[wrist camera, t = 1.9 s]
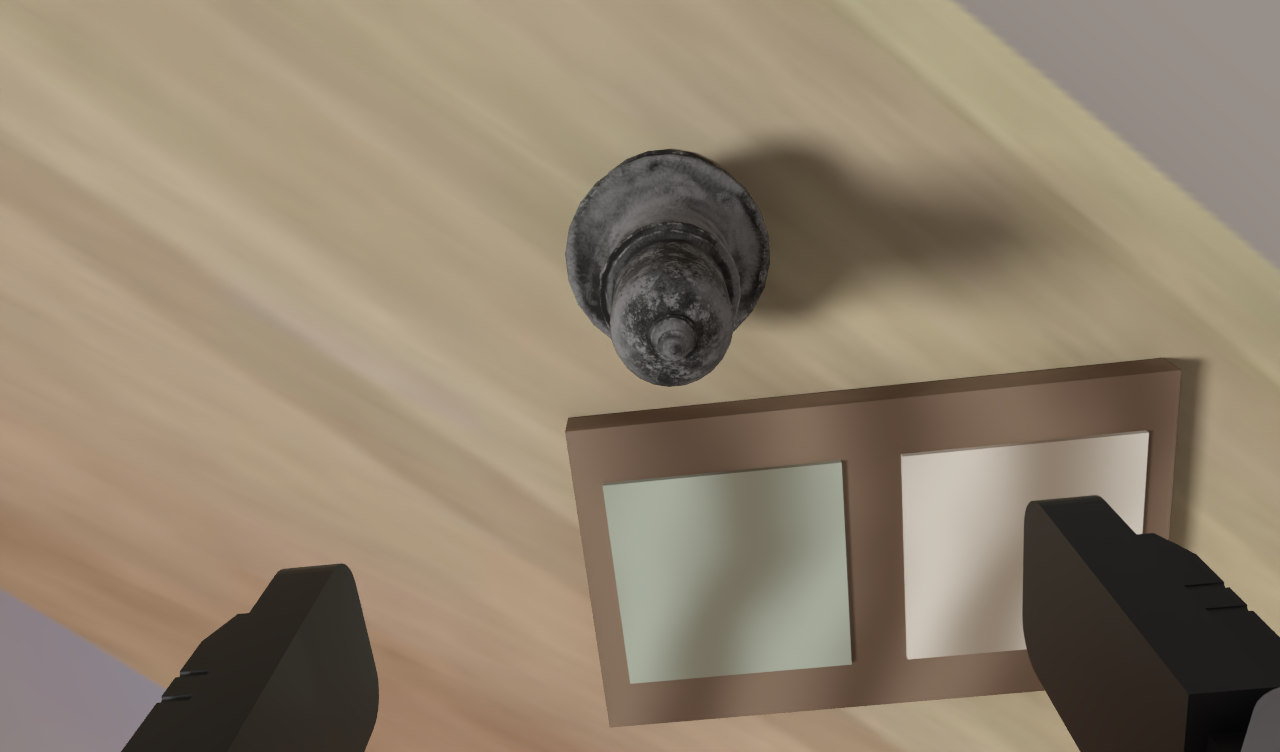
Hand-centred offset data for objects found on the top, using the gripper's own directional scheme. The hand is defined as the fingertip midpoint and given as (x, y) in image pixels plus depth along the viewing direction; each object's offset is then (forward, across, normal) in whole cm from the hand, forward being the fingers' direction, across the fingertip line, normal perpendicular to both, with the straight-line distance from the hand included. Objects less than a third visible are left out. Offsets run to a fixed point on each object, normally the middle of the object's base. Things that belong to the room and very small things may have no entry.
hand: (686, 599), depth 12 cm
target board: (+21, -6, +12) cm, 25 cm away
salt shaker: (+22, 0, 0) cm, 22 cm away
